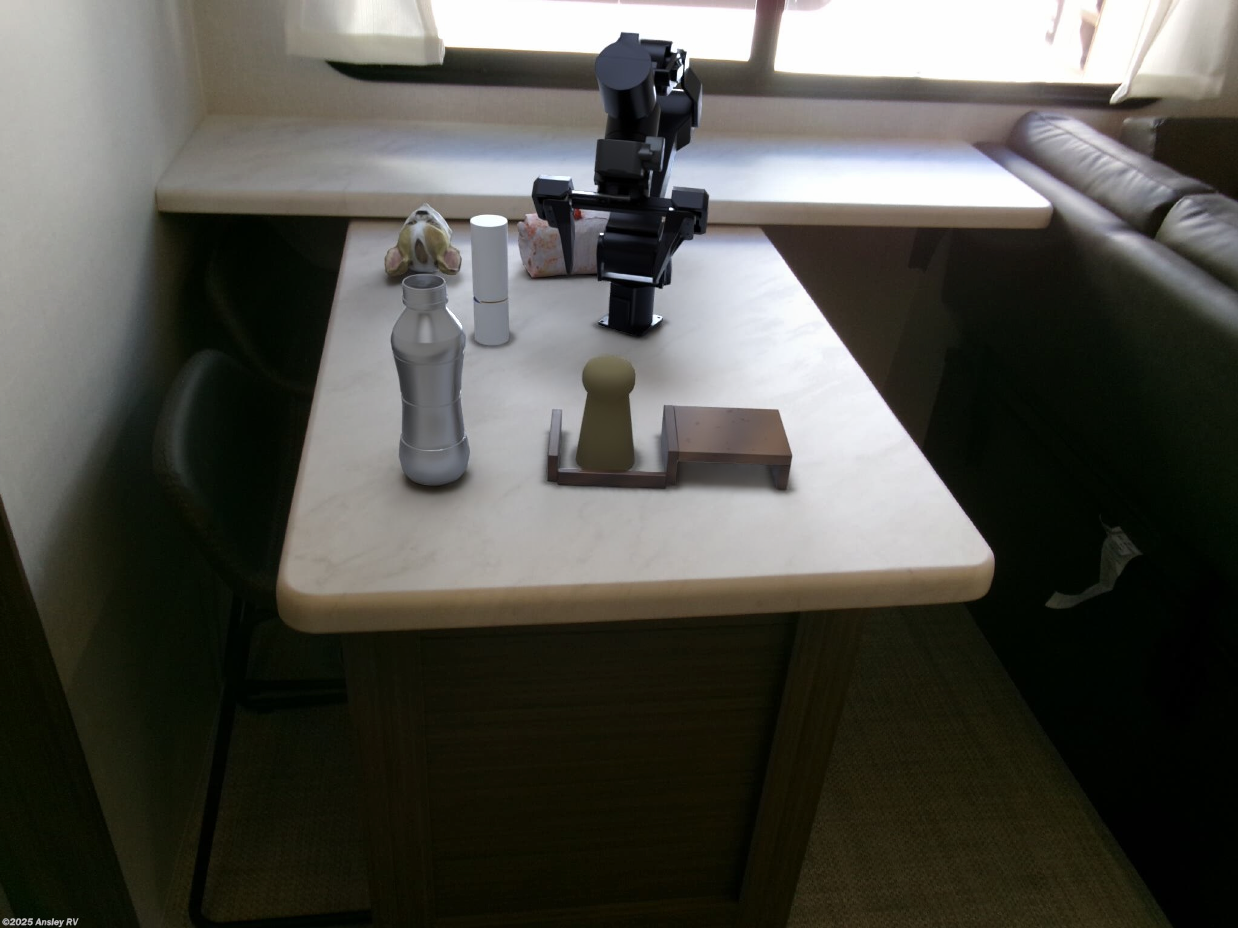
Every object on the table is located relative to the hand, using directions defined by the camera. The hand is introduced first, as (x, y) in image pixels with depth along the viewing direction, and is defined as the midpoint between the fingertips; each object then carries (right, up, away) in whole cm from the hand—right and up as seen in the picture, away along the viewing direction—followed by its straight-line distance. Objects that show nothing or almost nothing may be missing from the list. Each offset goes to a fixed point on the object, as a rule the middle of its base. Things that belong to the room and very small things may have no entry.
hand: (611, 278), depth 101 cm
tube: (-15, -4, +18) cm, 24 cm away
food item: (-7, +9, +38) cm, 40 cm away
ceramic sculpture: (-27, +8, +36) cm, 46 cm away
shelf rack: (+6, -19, -4) cm, 21 cm away
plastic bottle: (-17, -21, -8) cm, 28 cm away
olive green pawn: (-1, -19, -4) cm, 20 cm away
